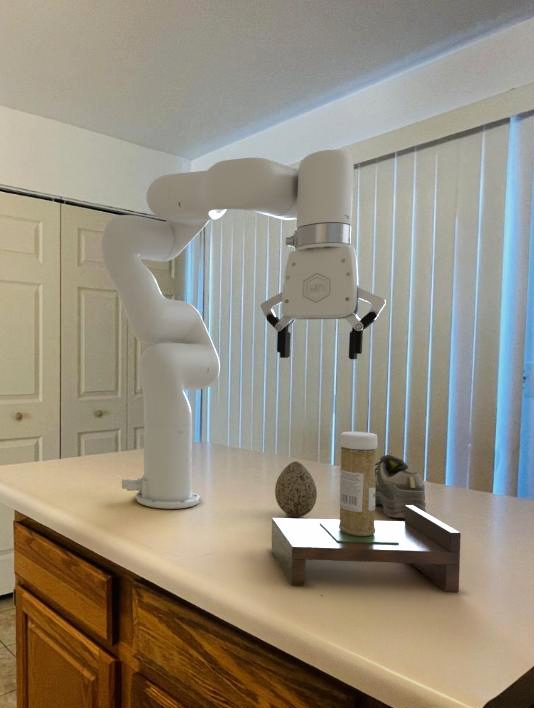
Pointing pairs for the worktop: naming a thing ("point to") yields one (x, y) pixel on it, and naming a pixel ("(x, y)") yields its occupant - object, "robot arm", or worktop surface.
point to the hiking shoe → (397, 487)
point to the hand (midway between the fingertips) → (317, 358)
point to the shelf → (371, 545)
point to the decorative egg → (295, 490)
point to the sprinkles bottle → (357, 483)
